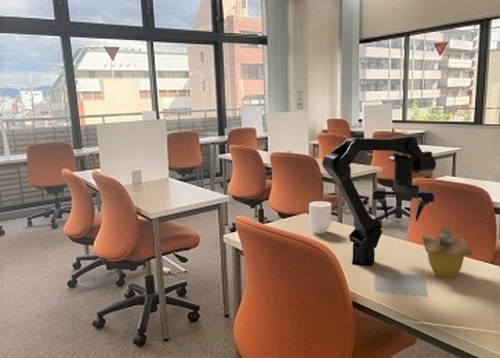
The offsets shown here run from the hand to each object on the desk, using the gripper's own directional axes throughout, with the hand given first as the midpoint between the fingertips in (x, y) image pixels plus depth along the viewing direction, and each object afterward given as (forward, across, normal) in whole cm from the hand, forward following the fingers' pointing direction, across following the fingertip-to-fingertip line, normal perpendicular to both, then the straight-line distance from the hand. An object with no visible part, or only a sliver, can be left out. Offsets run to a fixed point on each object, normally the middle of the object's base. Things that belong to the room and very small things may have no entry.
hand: (401, 219), depth 138 cm
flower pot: (+13, +12, -12) cm, 22 cm away
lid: (+4, +12, -12) cm, 18 cm away
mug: (+13, -29, +20) cm, 38 cm away
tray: (+13, -1, -22) cm, 26 cm away
